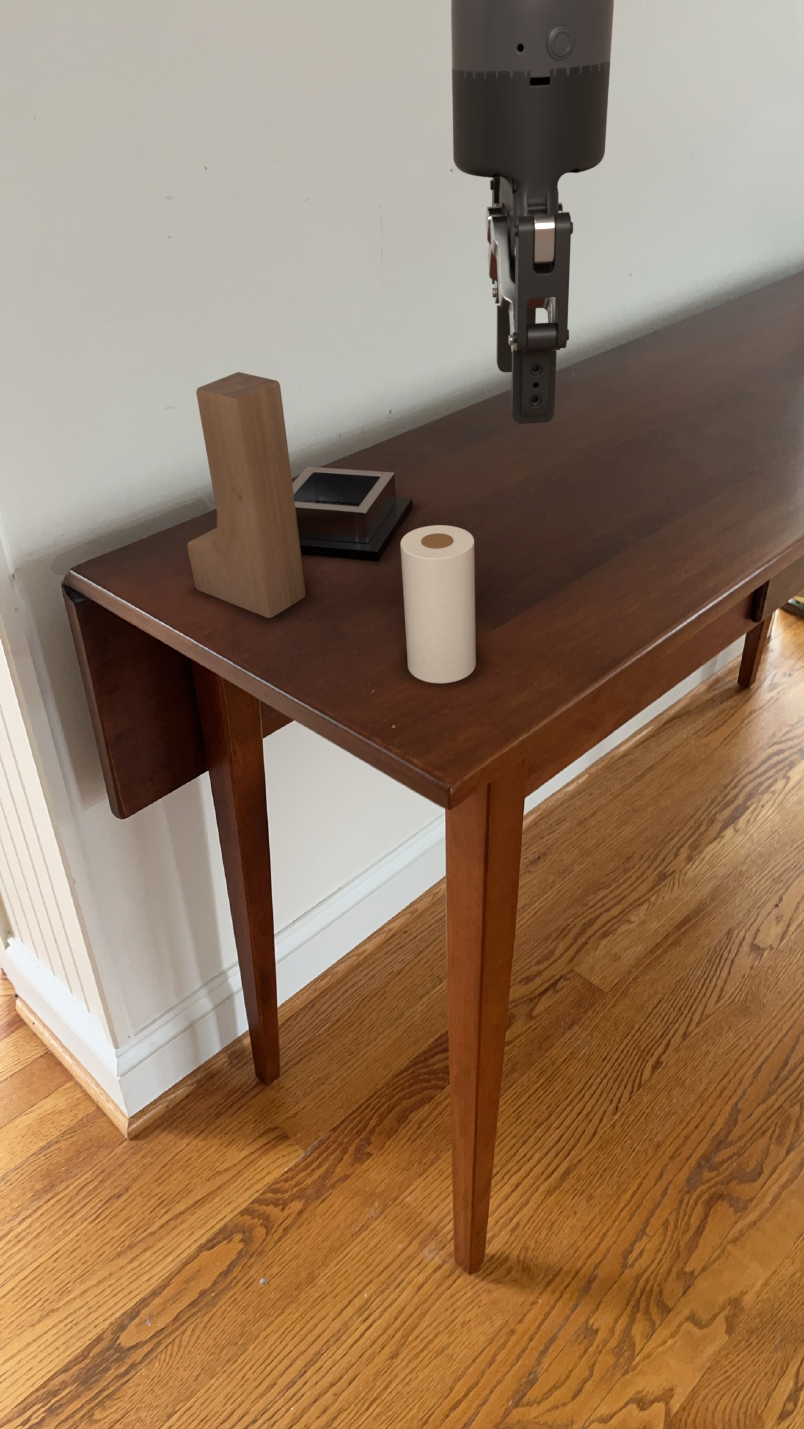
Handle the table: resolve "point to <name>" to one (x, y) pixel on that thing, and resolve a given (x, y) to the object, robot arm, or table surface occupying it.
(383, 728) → the table surface
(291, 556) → the wooden block
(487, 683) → the table surface
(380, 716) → the table surface
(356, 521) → the stand
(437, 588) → the paper roll
